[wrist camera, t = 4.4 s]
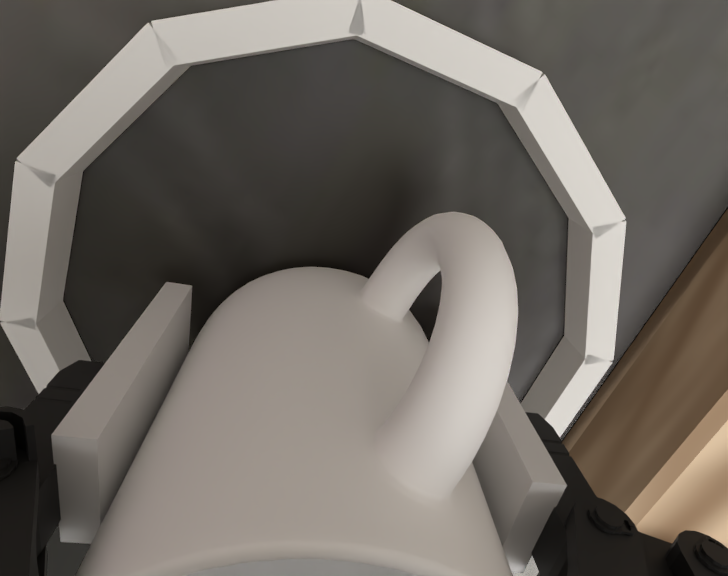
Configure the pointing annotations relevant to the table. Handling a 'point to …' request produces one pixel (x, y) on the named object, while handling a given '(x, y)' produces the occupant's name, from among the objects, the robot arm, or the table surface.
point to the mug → (329, 425)
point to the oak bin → (668, 410)
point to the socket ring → (284, 32)
